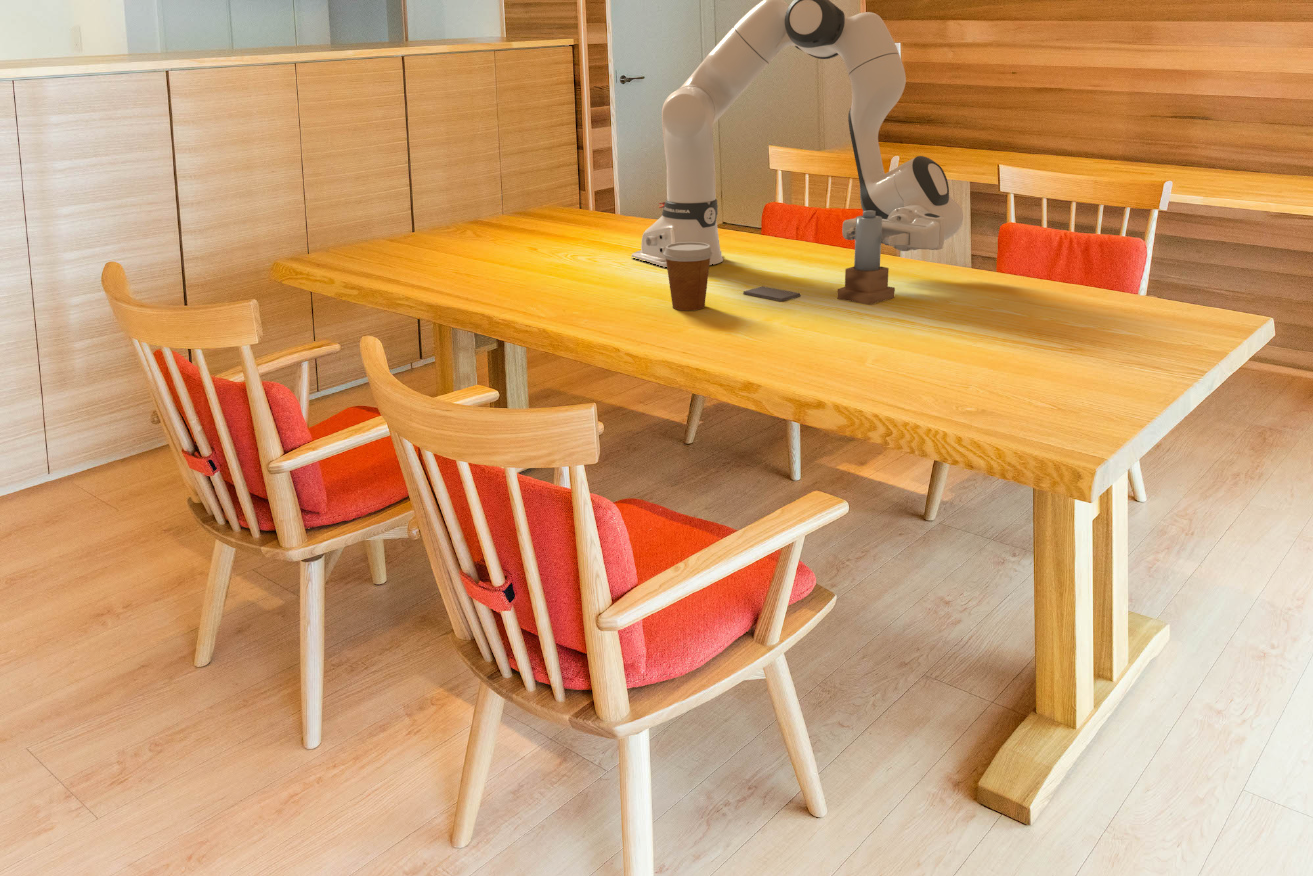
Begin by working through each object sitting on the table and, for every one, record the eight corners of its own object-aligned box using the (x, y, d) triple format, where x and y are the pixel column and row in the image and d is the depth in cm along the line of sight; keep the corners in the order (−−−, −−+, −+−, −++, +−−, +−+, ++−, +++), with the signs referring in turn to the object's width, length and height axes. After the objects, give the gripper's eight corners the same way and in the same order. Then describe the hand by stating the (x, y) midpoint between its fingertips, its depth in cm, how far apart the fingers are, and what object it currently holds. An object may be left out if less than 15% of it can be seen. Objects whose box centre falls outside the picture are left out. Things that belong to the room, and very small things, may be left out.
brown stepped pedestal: (837, 298, 227) (838, 268, 225) (861, 291, 232) (862, 262, 230) (870, 304, 221) (871, 274, 219) (894, 297, 226) (895, 267, 224)
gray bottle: (849, 268, 224) (851, 211, 221) (864, 264, 228) (866, 208, 224) (869, 272, 221) (872, 214, 217) (885, 267, 224) (887, 210, 220)
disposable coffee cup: (662, 302, 227) (660, 242, 223) (709, 300, 228) (709, 240, 224) (667, 313, 218) (665, 251, 214) (716, 311, 219) (715, 249, 215)
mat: (743, 294, 232) (743, 291, 232) (762, 289, 236) (762, 286, 236) (781, 301, 226) (781, 298, 225) (800, 296, 229) (800, 293, 229)
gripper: (866, 207, 237) (825, 216, 228) (951, 218, 223) (911, 227, 214) (865, 238, 239) (824, 247, 230) (949, 250, 225) (910, 261, 216)
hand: (867, 238), depth 222 cm, fingers open, 8 cm apart
